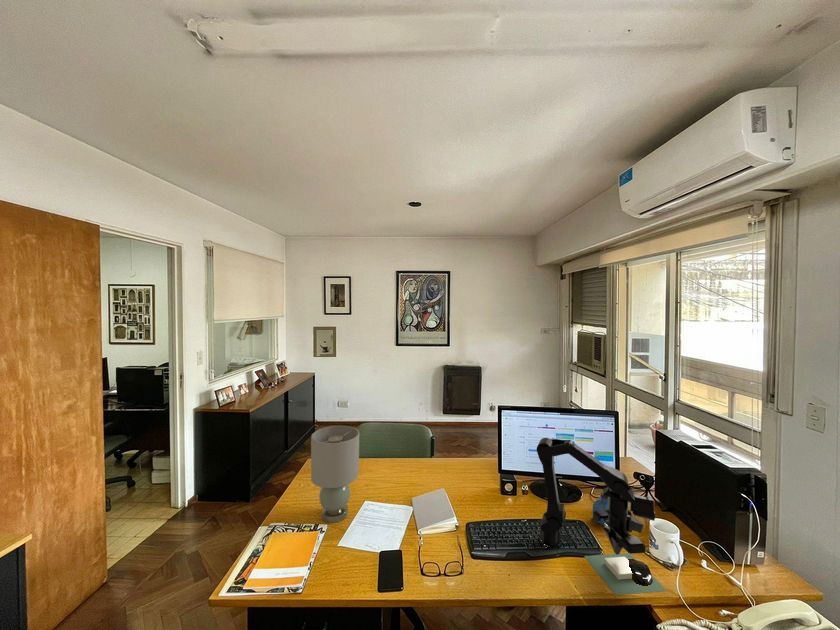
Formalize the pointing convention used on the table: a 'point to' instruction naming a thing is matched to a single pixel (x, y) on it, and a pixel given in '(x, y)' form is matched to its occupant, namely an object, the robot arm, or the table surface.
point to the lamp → (334, 468)
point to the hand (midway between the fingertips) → (616, 553)
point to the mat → (623, 584)
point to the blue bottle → (601, 505)
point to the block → (619, 567)
